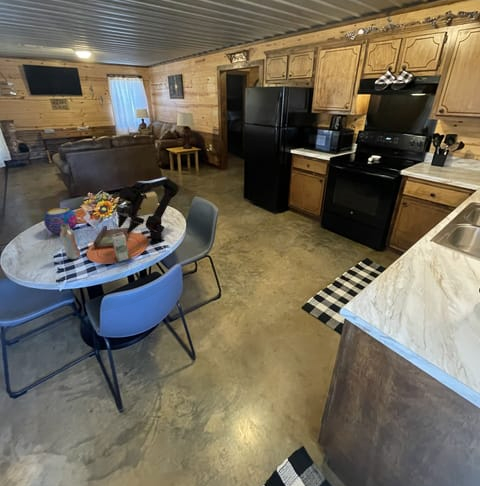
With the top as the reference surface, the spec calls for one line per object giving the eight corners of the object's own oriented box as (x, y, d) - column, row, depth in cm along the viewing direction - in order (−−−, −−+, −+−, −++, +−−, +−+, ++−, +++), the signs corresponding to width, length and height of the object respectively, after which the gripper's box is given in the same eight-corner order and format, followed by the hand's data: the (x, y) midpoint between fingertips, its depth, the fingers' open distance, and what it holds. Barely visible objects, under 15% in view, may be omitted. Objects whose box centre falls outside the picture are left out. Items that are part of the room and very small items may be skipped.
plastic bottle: (75, 261, 140) (65, 228, 132) (64, 260, 141) (53, 227, 133) (83, 255, 146) (75, 223, 138) (73, 254, 147) (64, 222, 139)
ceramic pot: (82, 223, 182) (76, 203, 176) (76, 235, 167) (70, 214, 161) (53, 227, 177) (46, 207, 171) (44, 240, 161) (36, 218, 156)
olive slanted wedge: (131, 229, 174) (130, 223, 173) (124, 246, 154) (122, 239, 153) (105, 231, 172) (104, 225, 170) (95, 249, 152) (93, 242, 150)
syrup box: (126, 254, 147) (122, 231, 141) (129, 259, 142) (125, 235, 137) (116, 257, 144) (111, 234, 138) (118, 262, 139) (113, 239, 134)
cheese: (128, 219, 189) (125, 199, 183) (126, 214, 197) (123, 195, 191) (159, 213, 199) (157, 194, 193) (156, 208, 207) (154, 190, 201)
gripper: (113, 194, 141) (101, 221, 139) (132, 203, 130) (119, 232, 129) (130, 201, 150) (119, 226, 149) (150, 210, 140) (137, 237, 138)
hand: (123, 230), depth 141 cm, fingers open, 9 cm apart
